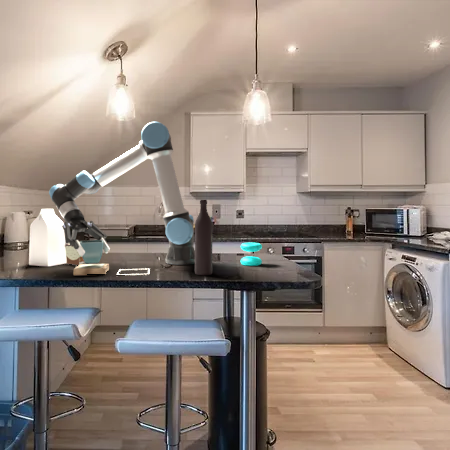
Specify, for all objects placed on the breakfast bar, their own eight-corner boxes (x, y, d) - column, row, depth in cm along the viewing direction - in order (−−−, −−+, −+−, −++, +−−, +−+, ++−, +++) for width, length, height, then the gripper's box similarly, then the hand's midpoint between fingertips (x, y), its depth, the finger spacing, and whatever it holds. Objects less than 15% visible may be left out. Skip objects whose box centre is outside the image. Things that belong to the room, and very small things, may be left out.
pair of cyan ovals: (257, 245, 172) (237, 244, 177) (257, 267, 173) (237, 265, 177) (265, 243, 181) (245, 242, 186) (264, 263, 182) (245, 262, 186)
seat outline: (149, 269, 165) (149, 268, 165) (149, 274, 152) (149, 273, 152) (119, 270, 163) (119, 269, 163) (116, 275, 150) (116, 274, 150)
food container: (92, 264, 179) (92, 243, 178) (81, 266, 174) (81, 244, 173) (75, 262, 185) (75, 241, 185) (64, 263, 180) (64, 242, 180)
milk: (48, 266, 172) (47, 208, 171) (28, 265, 176) (27, 208, 175) (67, 262, 184) (66, 208, 182) (49, 261, 188) (47, 208, 186)
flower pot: (80, 261, 160) (80, 240, 159) (102, 260, 163) (102, 239, 162) (80, 265, 152) (80, 242, 151) (103, 263, 155) (103, 241, 154)
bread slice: (108, 269, 165) (108, 263, 164) (105, 274, 153) (105, 267, 153) (79, 270, 162) (79, 264, 162) (73, 275, 151) (73, 268, 151)
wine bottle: (214, 275, 152) (214, 199, 151) (196, 276, 150) (196, 199, 149) (209, 272, 159) (209, 199, 157) (193, 273, 157) (193, 199, 155)
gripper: (91, 219, 175) (114, 255, 167) (42, 221, 155) (65, 262, 147) (98, 208, 172) (123, 244, 164) (49, 208, 152) (74, 249, 144)
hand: (96, 252), depth 156 cm, fingers closed on flower pot, 12 cm apart
